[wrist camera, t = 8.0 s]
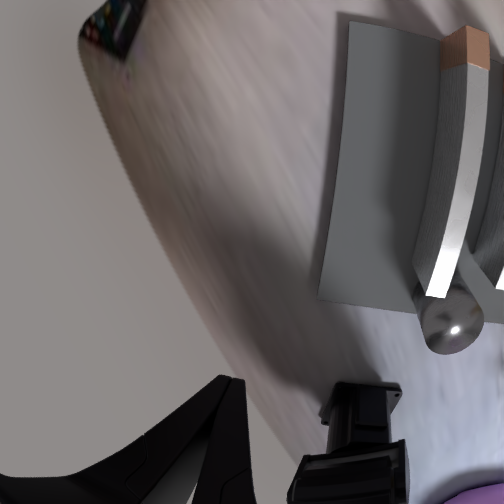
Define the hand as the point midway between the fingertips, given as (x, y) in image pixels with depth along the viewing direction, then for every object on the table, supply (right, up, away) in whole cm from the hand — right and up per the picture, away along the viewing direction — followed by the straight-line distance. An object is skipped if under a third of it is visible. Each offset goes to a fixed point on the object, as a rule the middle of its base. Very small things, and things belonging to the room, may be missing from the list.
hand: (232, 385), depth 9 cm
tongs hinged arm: (+13, +8, +6) cm, 17 cm away
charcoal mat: (+14, +8, +7) cm, 18 cm away
